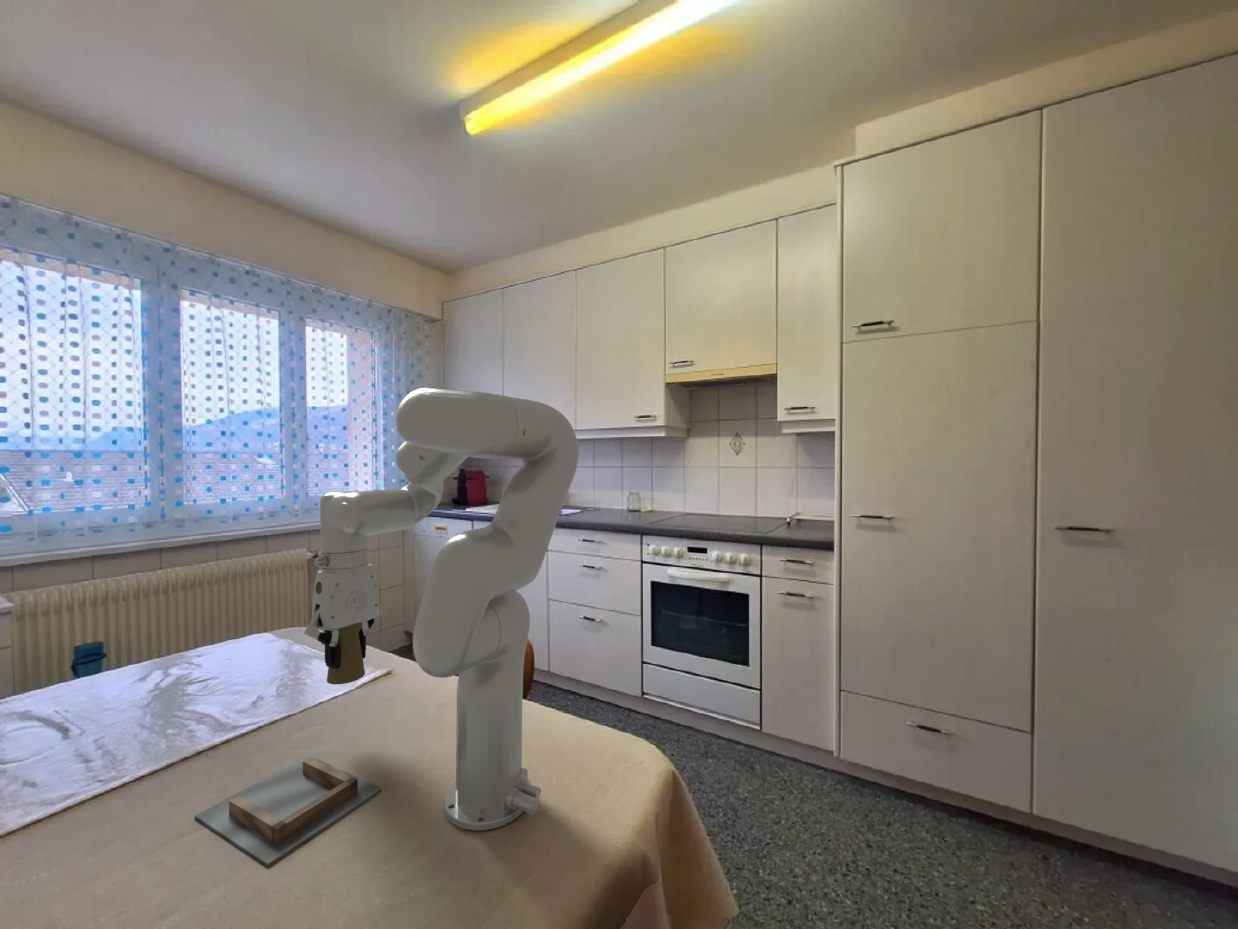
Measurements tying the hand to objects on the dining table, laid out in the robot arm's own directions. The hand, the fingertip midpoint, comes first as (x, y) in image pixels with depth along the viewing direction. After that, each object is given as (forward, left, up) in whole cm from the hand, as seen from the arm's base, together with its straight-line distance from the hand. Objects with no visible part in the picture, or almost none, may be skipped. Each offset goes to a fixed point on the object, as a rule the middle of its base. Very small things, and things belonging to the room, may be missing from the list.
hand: (346, 661), depth 89 cm
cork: (0, 0, -3) cm, 3 cm away
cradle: (-9, +14, -14) cm, 22 cm away
